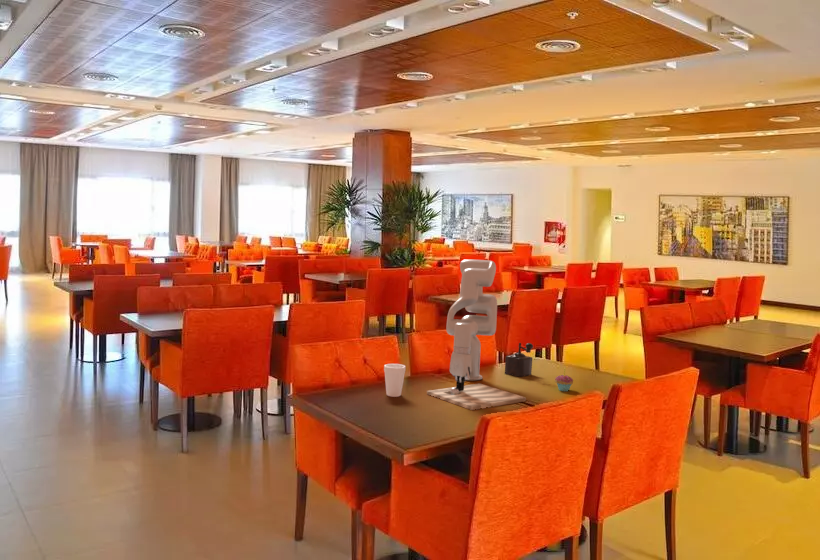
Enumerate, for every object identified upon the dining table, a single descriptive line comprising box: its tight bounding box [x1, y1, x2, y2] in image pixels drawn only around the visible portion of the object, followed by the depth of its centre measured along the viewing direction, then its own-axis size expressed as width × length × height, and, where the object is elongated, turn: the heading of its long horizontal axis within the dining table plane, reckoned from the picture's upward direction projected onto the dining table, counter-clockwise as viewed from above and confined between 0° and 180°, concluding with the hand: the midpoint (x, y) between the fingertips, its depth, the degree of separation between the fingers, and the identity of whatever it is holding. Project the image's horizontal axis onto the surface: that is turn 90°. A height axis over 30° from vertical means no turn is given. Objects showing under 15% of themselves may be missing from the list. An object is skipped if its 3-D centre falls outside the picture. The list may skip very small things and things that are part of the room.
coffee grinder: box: [504, 342, 534, 378], centre depth 365 cm, size 16×11×18 cm
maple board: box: [426, 382, 527, 411], centre depth 314 cm, size 30×32×2 cm
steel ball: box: [450, 388, 459, 395], centre depth 314 cm, size 4×4×4 cm
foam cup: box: [383, 363, 407, 398], centre depth 312 cm, size 10×9×13 cm
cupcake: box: [554, 366, 574, 392], centre depth 335 cm, size 9×8×12 cm
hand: (459, 390), depth 317 cm, fingers closed
